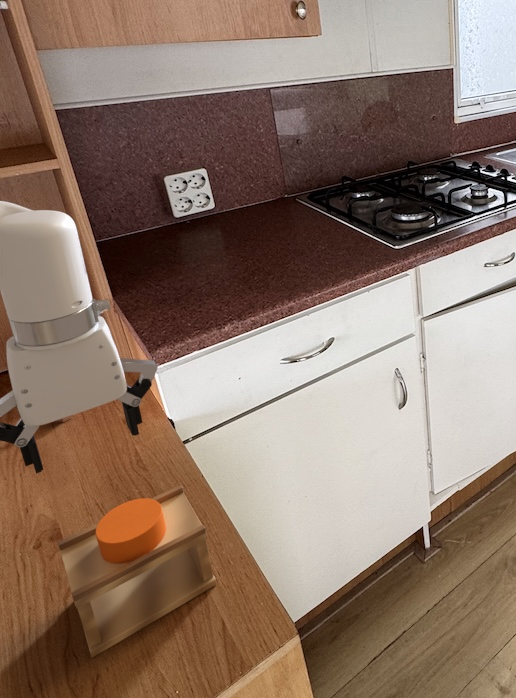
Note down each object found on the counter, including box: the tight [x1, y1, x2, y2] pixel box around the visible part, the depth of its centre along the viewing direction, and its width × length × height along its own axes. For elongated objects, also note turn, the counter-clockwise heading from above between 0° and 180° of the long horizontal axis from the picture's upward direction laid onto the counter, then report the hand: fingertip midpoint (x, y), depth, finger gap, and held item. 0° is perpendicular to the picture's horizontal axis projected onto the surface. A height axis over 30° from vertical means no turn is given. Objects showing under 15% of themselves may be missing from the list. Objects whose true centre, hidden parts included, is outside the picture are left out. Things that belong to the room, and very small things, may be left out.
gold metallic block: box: [57, 484, 218, 658], centre depth 74 cm, size 14×10×10 cm
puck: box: [95, 497, 166, 563], centre depth 72 cm, size 7×7×3 cm
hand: (87, 447), depth 70 cm, fingers open, 9 cm apart
